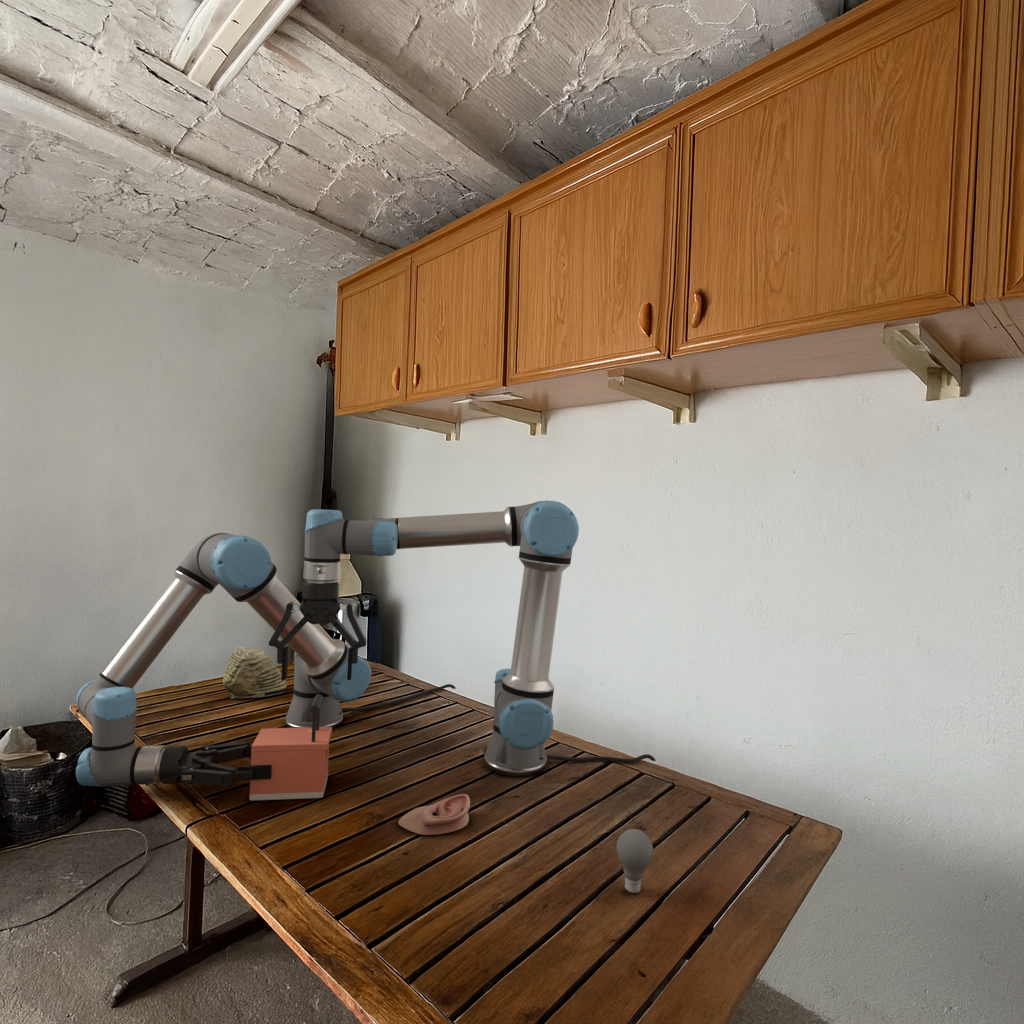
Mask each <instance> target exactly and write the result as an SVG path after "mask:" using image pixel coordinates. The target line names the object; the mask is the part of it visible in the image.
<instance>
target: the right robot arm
mask: <svg viewBox="0 0 1024 1024" xmlns="http://www.w3.org/2000/svg"><path fill="white" fill-rule="evenodd" d="M305 519H306V520H305V529H304V559H303V576H302V578H303V579H304V580H305V581H303V583H302V595H301V597H302V599H301V603H300V604H296V603H293V602H289V603H288V604H287V606H286V612H285V615H284V616H283V618H282V620H281V622H280V623H279V625H278V627H277V629H276V631H274V633H273V634H272V636H271V637H270V639H269V641H268V646H269V647H274V648H276V649H277V650H276V663H277V664H279V665H281V673H282V678H281V680H286V679H287V678H288V669H289V646H286V645H288V644H287V643H288V642H289V641H290V640H291V639H292V638H293V636H294V635H295V634H296V633H297V632H298V631H299V630H300V629H301V628H302V627H303V626H304V625H305V624H306V623H307V622H309V623H311V624H319V625H328V624H331V625H332V626H333V627H334V628H335V629H336V631H337V632H338V633H339V634H340V635H341V637H342V638H343V639H344V640H345V641H346V643H347V644H348V645H349V647H348V648H349V650H348V673H347V680H351V677H352V664H356V663H357V660H358V657H359V649H360V648H365V647H366V646H367V642H368V641H367V637H366V635H365V634H364V632H363V630H362V627H361V625H360V623H359V621H358V619H357V617H356V614H355V611H354V604H353V602H348V603H346V604H345V603H344V604H341V603H340V601H339V596H340V583H339V581H338V580H339V579H340V576H341V573H340V572H341V556H342V555H356V556H357V555H358V556H372V557H373V556H376V557H379V558H380V557H391V556H394V555H395V554H396V552H397V550H406V549H418V548H419V549H421V548H422V549H423V548H424V549H425V548H437V547H439V548H441V547H454V546H455V547H456V546H470V545H489V544H490V545H491V544H506V545H507V546H509V547H519V552H518V560H519V561H520V562H521V564H522V565H523V574H522V580H521V581H522V582H521V590H520V597H519V603H518V610H517V611H518V612H517V618H516V619H517V620H516V628H515V635H514V642H513V643H514V644H513V650H512V657H511V666H510V668H501V669H499V670H498V671H496V673H495V678H494V681H493V682H494V700H493V701H494V703H493V722H492V723H493V724H492V726H493V727H492V732H491V736H490V738H489V741H488V743H487V746H486V747H485V748H484V749H483V755H484V757H483V760H484V761H483V763H484V766H485V767H486V768H487V769H488V770H489V771H491V772H494V773H496V774H498V775H503V776H508V777H529V776H534V775H537V774H539V773H542V772H544V770H546V768H547V765H548V764H547V763H548V762H547V761H548V760H550V761H551V760H552V761H563V762H564V761H565V762H578V763H579V762H581V763H582V762H591V761H606V762H607V761H608V762H616V763H625V764H632V763H637V762H639V761H643V760H645V759H649V760H650V761H652V762H656V761H657V759H656V758H655V757H654V756H653V755H651V754H648V753H646V754H645V753H644V754H642V755H639V756H637V757H633V758H621V757H614V756H605V755H604V756H603V755H600V756H598V755H597V756H586V757H583V756H582V757H570V756H563V755H561V756H560V755H549V754H548V755H547V753H546V749H545V745H544V744H545V743H546V742H547V741H548V740H549V738H550V737H551V735H552V733H553V731H554V730H553V729H554V722H555V721H554V715H553V711H552V709H553V701H554V693H555V692H554V691H555V685H554V683H553V682H552V681H551V679H550V670H551V663H552V655H553V649H554V640H555V632H556V625H557V619H558V610H559V602H560V593H561V587H562V579H563V573H564V571H565V570H566V569H568V568H569V567H570V566H571V563H572V558H573V557H572V556H573V549H574V546H576V543H577V541H578V537H579V533H580V527H579V526H580V525H579V521H578V519H577V516H576V515H575V513H574V512H573V510H571V508H570V507H568V506H567V505H566V504H565V503H562V502H560V501H556V500H539V501H535V502H532V503H527V504H522V505H514V506H506V508H505V509H504V510H502V511H486V512H470V513H469V512H468V513H452V514H438V515H419V516H403V517H388V518H384V517H377V518H376V517H375V518H372V519H370V520H357V519H355V520H353V519H351V520H350V519H344V516H343V512H342V511H341V510H338V509H319V508H318V509H315V508H314V509H310V510H308V512H307V513H306V518H305ZM298 609H300V611H301V612H302V614H303V615H304V617H303V618H302V619H301V620H300V621H299V622H298V624H297V625H296V626H295V627H294V628H293V629H292V630H291V631H290V632H289V633H288V634H287V635H286V636H285V637H284V638H283V639H281V640H279V638H280V635H281V633H282V631H283V629H284V628H285V626H286V624H287V622H288V621H289V619H290V617H291V615H292V613H295V612H296V611H297V610H298ZM340 611H342V612H343V615H346V616H347V618H348V621H349V623H350V625H351V627H352V629H353V633H354V634H355V636H356V638H357V640H356V639H355V637H354V636H353V635H352V634H351V632H350V631H349V630H348V629H347V627H345V625H344V624H343V623H342V622H341V620H340V618H339V617H338V616H337V614H339V613H340ZM286 681H287V680H286Z"/></svg>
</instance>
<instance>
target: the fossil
mask: <svg viewBox="0 0 1024 1024" xmlns="http://www.w3.org/2000/svg"><path fill="white" fill-rule="evenodd" d="M222 676H223V677H222V685H223V687H224V688H225V690H226V691H228V693H229V698H230V699H250V698H264V697H271V696H275V695H281V694H284V693H285V691H286V689H287V687H288V686H287V680H281V678H282V671H281V669H279V668H278V667H277V665H276V663H275V662H274V660H273V659H272V658H271V657H270V656H269V655H268V654H267V653H266V652H265V650H264V649H263V648H260V647H258V648H251V647H247V646H246V647H245V646H238V647H237V648H236V649H235V650H233V651H232V653H231V656H230V657H229V659H228V660H227V663H226V666H225V668H224V671H223V675H222Z"/></svg>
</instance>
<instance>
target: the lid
mask: <svg viewBox="0 0 1024 1024" xmlns="http://www.w3.org/2000/svg"><path fill="white" fill-rule="evenodd" d="M322 699H323V696H322V695H321V694H317V695H316V696H315V698H314V701H313V703H312V706H311V708H310V711H311V712H312V713H313V718H312V728H288V727H270V728H269V727H267V728H261V729H260V730H259V732H258V734H257V735H256V738H255V739H254V741H253V743H252V745H251V746H252V749H251V752H257V751H298V750H327V749H328V745H329V746H330V742H331V738H332V734H333V729H332V727H319V721H320V705H321V702H322Z"/></svg>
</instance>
